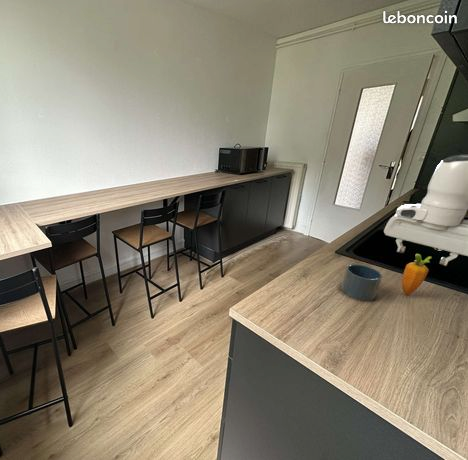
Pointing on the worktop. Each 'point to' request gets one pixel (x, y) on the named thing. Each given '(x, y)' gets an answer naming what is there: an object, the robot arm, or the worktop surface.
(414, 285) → the carrot
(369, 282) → the tumbler
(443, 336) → the worktop surface
